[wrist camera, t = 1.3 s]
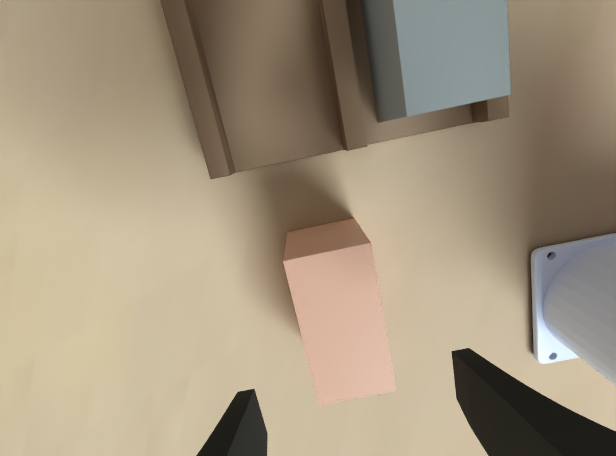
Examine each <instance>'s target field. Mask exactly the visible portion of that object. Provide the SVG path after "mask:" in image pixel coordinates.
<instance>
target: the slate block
mask: <svg viewBox="0 0 616 456" xmlns="http://www.w3.org/2000/svg"><path fill="white" fill-rule="evenodd" d="M360 2H361V9H362V16H363V23H364V30H365V37H366V44H367V51H368V58H369V65H370V72H371V79H372V86H373V93H374V100H375V107H376V114H377V121H378V123H380V122H385V121H389V120H394V119H399V118H403V117H408V116H413V115H418V114H422V113H427V112H432V111H437V110H441V109H446V108H451V107H455V106H460V105H465V104H469V103H474V102H478V101H483V100H488V99H492V98H497V97H502V96H506V95H511V84H510V60H509V36H508V12H507V0H360Z"/></svg>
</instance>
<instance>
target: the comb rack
mask: <svg viewBox="0 0 616 456" xmlns="http://www.w3.org/2000/svg"><path fill="white" fill-rule="evenodd" d="M161 4H162V7H163V11H164V14H165V18H166V22H167V25H168V29H169V32H170V36H171V39H172V43H173V47H174V50H175V54H176V57H177V61H178V64H179V68H180V72H181V75H182V79H183V82H184V86H185V89H186V93H187V97H188V100H189V104H190V107H191V111H192V114H193V118H194V122H195V125H196V129H197V132H198V136H199V140H200V143H201V147H202V150H203V154H204V157H205V161H206V165H207V168H208V172H209V175H210V179H215V178H219V177H224V176H229V175H232V174H234V173H236V172H240V171H245V170H250V169H254V168H259V167H264V166H269V165H273V164H278V163H283V162H288V161H293V160H297V159H302V158H307V157H312V156H316V155H321V154H326V153H331V152H335V151H340V150H347V151H348V150H353V149H358V148H362V147H367V145H369V144H374V143H378V142H383V141H388V140H393V139H397V138H402V137H407V136H412V135H416V134H421V133H426V132H431V131H436V130H440V129H445V128H450V127H455V126H459V125H464V124H469V123H474V122H484V121H491V120H496V119H501V118H505V117H509V109H508V95H506V96H502V97H497V98H492V99H488V100H483V101H478V102H474V103H469V104H465V105H460V106H455V107H451V108H446V109H441V110H437V111H432V112H427V113H422V114H418V115H413V116H408V117H403V118H399V119H394V120H389V121H385V122H380V123H378V121H377V114H376V107H375V100H374V93H373V86H372V79H371V72H370V65H369V58H368V51H367V44H366V37H365V30H364V23H363V16H362V9H361V2H360V0H161Z"/></svg>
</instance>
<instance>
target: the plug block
mask: <svg viewBox="0 0 616 456" xmlns="http://www.w3.org/2000/svg"><path fill="white" fill-rule="evenodd" d="M283 263H284V267H285V271H286V275H287V279H288V283H289V288H290V292H291V296H292V300H293V304H294V308H295V312H296V316H297V320H298V324H299V328H300V332H301V336H302V340H303V344H304V348H305V352H306V356H307V360H308V364H309V368H310V372H311V376H312V380H313V384H314V388H315V392H316V396H317V400H318V404H319V405H324V404H329V403H334V402H339V401H345V400H350V399H355V398H360V397H365V396H371V395H376V394H381V393H386V392H391V391H396V386H395V380H394V374H393V369H392V363H391V357H390V351H389V345H388V340H387V334H386V328H385V322H384V316H383V311H382V305H381V299H380V293H379V287H378V282H377V276H376V270H375V264H374V258H373V253H372V247H371V242H370V241H369V239H368V238H367V237H366V235H365V234H364V232H363V231H362V229H361V228H360V226H359V225H358V223H357V222H356V220H355V219H354V218H351V219H347V220H342V221H337V222H333V223H328V224H323V225H318V226H314V227H309V228H304V229H300V230H295V231H290V232H287V237H286V244H285V251H284V258H283Z"/></svg>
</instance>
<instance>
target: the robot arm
mask: <svg viewBox="0 0 616 456" xmlns="http://www.w3.org/2000/svg"><path fill="white" fill-rule="evenodd" d="M550 252H551V255H550V256H549V257H548V258H547V255H548V254H549V253H550ZM531 280H532V312H533V344H534V358H535V359H536V360H537V361H538V362H539V363H541V364H546V363H551V362H557V361H562V360H568V359H573V358H578V357H580V358H581V359H582V360H583V361H585V362H586V363H587V364H589V365H590V366H591V367H592V368H594V369H595V370H596V371H598V372H599V373H600V374H601V375H603V376H604V377H605V378H606V379H608V380H609V381H610V382H612V383H613V384H614V385H615V386H616V233H612V234H607V235H602V236H597V237H592V238H587V239H582V240H577V241H572V242H566V243H561V244H556V245H551V246H546V247H541V248H537V249H535V250H534V251H533V252H532V254H531ZM551 353H552V354H551ZM550 354H551V355H550ZM549 355H550V356H549ZM452 359H453V369H454V378H455V388H456V397H457V400H458V402H459V404H460V407H461V409H462V411H463V413H464V415H465V417H466V419H467V421H468V423H469V425H470V427H471V428H472V430H473V432H474V433H475V435H476V437H477V438H478V440H479V441H480V443H481V444H482V446H483V448H484V449H485V451H486V452H487V454H488V456H616V431H613V430H611V429H609V428H607V427H604V426H602V425H600V424H598V423H596V422H594V421H592V420H590V419H588V418H586V417H583V416H581V415H579V414H577V413H575V412H573V411H571V410H569V409H567V408H566V407H564V406H562V405H560V404H558V403H556V402H554V401H553V400H551V399H549V398H547V397H546V396H544V395H542V394H540V393H538V392H537V391H535V390H533V389H532V388H530V387H528V386H527V385H525V384H523V383H522V382H520V381H518V380H517V379H515V378H514V377H512V376H510V375H509V374H507V373H506V372H504V371H503V370H501V369H500V368H498V367H497V366H495V365H494V364H492V363H490V362H489V361H487V360H486V359H485V358H483V357H482V356H480V355H479V354H477V353H476V352H474V351H472V350H471V349H469V348H467V349H461V350H456V351H452ZM197 456H267V430H266V427H265V424H264V420H263V417H262V413H261V410H260V407H259V403H258V400H257V396H256V393H255V390H254V389H251V390H246V391H240V392H238V393H237V394H236V396H235V397H234V399H233V400H232V402H231V403H230V405H229V407H228V408H227V410H226V412H225V413H224V415H223V416H222V418H221V420H220V421H219V423H218V424H217V426H216V427H215V429H214V431H213V432H212V434H211V435H210V437H209V438H208V440H207V441H206V443H205V444H204V446H203V447H202V449H201V450H200V451H199V453H198V454H197Z"/></svg>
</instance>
